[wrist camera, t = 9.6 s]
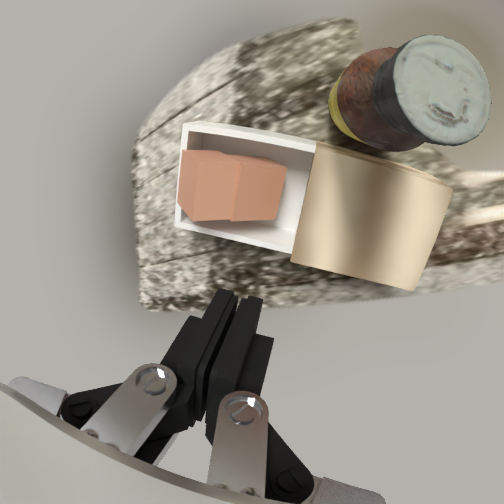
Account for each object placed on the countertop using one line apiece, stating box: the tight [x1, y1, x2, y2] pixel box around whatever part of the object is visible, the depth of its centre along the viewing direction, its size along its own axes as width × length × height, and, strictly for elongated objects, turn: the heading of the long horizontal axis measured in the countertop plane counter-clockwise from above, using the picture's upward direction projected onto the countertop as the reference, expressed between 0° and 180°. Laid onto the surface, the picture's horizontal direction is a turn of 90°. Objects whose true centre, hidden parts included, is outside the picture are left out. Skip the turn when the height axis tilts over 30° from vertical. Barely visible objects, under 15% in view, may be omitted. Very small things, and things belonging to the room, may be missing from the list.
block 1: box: [177, 149, 240, 221], centre depth 26 cm, size 4×5×4 cm
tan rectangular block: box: [290, 141, 453, 291], centre depth 27 cm, size 12×10×6 cm
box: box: [175, 121, 316, 254], centre depth 28 cm, size 12×10×4 cm
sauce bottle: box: [328, 35, 492, 152], centre depth 16 cm, size 6×6×20 cm
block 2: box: [226, 154, 287, 221], centre depth 28 cm, size 4×5×4 cm
